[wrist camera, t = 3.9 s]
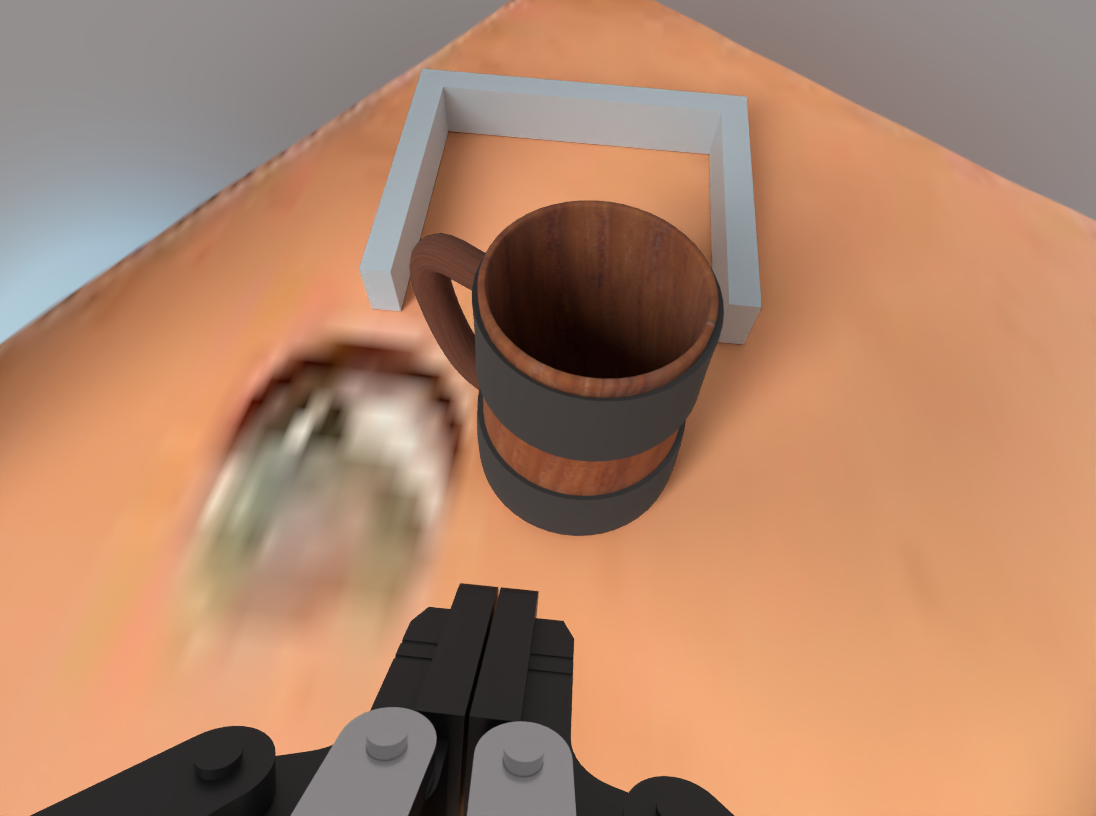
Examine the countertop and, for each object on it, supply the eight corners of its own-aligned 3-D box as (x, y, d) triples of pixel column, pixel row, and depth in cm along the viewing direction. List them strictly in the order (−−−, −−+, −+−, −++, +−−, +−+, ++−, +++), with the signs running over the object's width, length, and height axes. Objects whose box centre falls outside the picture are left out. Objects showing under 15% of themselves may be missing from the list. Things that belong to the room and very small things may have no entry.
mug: (488, 316, 34) (471, 117, 24) (700, 425, 32) (782, 252, 21) (382, 443, 31) (310, 271, 21) (612, 581, 28) (661, 460, 18)
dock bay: (372, 308, 34) (359, 269, 32) (428, 113, 42) (422, 68, 39) (743, 344, 34) (761, 307, 31) (732, 140, 42) (746, 96, 39)
